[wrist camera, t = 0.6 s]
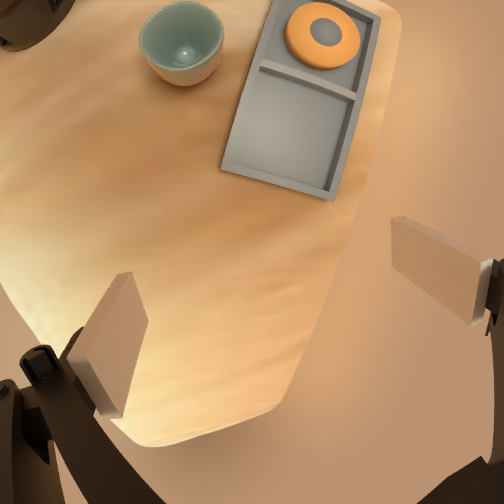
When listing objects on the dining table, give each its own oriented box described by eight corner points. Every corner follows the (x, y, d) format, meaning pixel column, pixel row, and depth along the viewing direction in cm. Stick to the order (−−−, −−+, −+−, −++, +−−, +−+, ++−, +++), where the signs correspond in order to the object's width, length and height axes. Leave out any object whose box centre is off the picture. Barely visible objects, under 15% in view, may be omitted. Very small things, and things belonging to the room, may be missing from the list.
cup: (191, 24, 30) (185, -12, 21) (234, 63, 32) (241, 33, 23) (143, 65, 31) (122, 38, 22) (185, 104, 33) (176, 87, 24)
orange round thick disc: (271, 20, 30) (276, 10, 27) (332, 6, 30) (340, -3, 27) (302, 79, 33) (309, 73, 30) (361, 61, 33) (372, 56, 30)
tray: (278, -15, 29) (282, -23, 27) (373, 23, 32) (381, 17, 29) (219, 168, 36) (220, 169, 34) (326, 199, 39) (333, 202, 37)
